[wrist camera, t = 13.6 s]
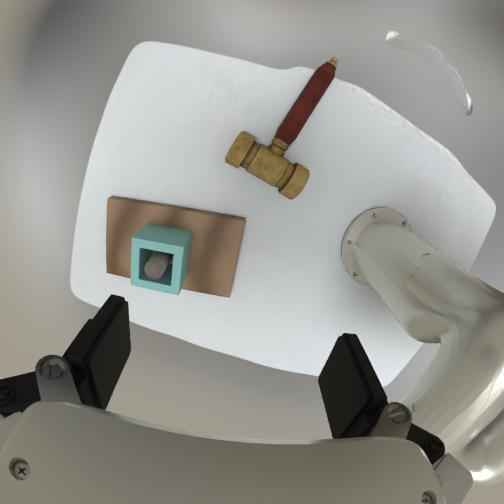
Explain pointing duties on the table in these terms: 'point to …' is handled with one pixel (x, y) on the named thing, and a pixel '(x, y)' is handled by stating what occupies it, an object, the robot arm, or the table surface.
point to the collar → (164, 242)
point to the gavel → (283, 140)
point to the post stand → (200, 260)
